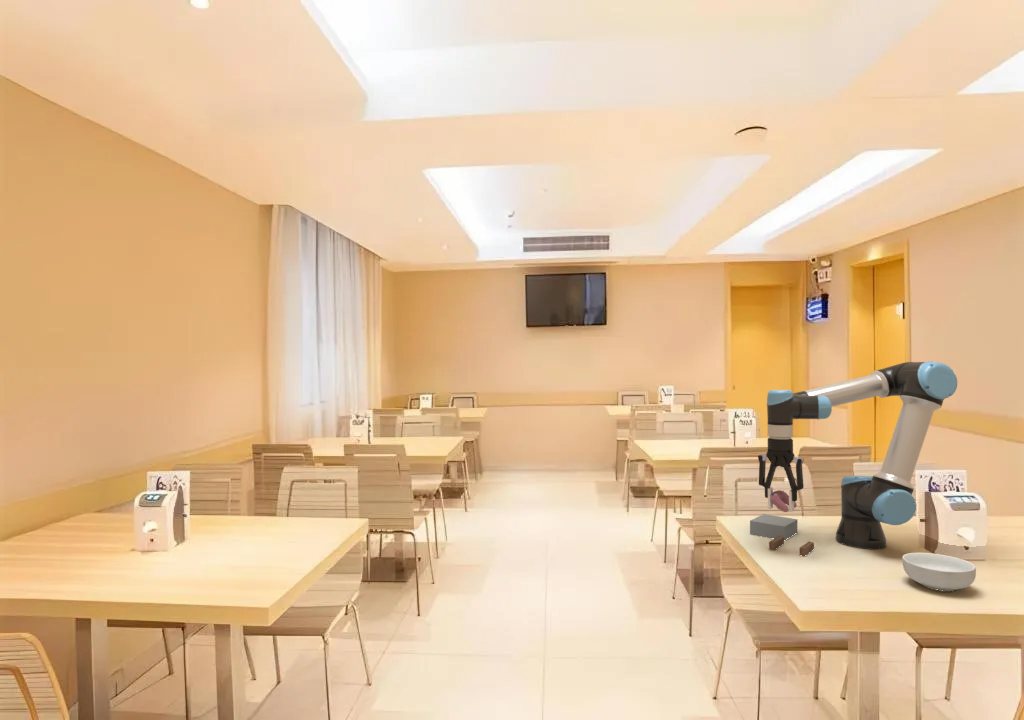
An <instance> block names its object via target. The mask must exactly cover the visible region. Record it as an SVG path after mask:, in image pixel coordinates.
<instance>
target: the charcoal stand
mask: <svg viewBox="0 0 1024 720" xmlns="http://www.w3.org/2000/svg"><path fill="white" fill-rule="evenodd" d="M798 520H799V519H797V518H790V517H784V516H779V515H773V514H767V513H763V514H761V515H759V516H757V517H755V518H753V519H750V521H749V535H750V536H755V535H756V537H760V536H762V538H766V537H767V539H771V538H774V539H775V538H777V537H778V536H783V537H784V540H786V539H787V538H789V537H790V538H792V537H793V536H792V535H794V534H795V533H797V534H798ZM795 535H796V534H795ZM795 535H794V536H795ZM791 536H792V537H791ZM790 538H789V539H790ZM787 540H788V539H787ZM787 540H786V541H787Z"/></svg>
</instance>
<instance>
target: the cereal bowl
mask: <svg viewBox="0 0 1024 720" xmlns="http://www.w3.org/2000/svg"><path fill="white" fill-rule="evenodd" d="M901 560H902V561H901V562H902V567H903V571H904V572H905V574H906V575H907V576H908V577H909V578H910V579H911V580H912V581H915V582H917V583H919V584H920V585H922V586H923V585H924V586H923V587H925V586H926V587H925V588H927V587H929V588H932V589H931V590H933V589H938V590H943V591H942V592H945V591H952V592H955V591H954V590H956V591H957V590H961V589H966V588H968V587H970V586H971V585H972V584H973V583H974V582H975V580H976V576H977V569H976V566H975V564H974V563H972V562H970V561H967V560H965V559H962V558H960V557H955V556H950V555H945V554H939V553H932V552H910V553H909V552H908V553H906V554H903V555H902V558H901ZM929 588H928V589H929Z"/></svg>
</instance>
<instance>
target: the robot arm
mask: <svg viewBox="0 0 1024 720" xmlns="http://www.w3.org/2000/svg"><path fill="white" fill-rule="evenodd" d="M957 389H958V378H957V375H956V373H955V372H954V370H953V369H952V368H951V366H949V365H947V364H946V363H943V362H939V361H936V362H935V361H930V360H929V361H906V362H901V363H898V364H894V365H891V366H887V367H884V368H880V369H877V370H876V369H875V370H873V371H872V372H871V373H870V374H868V375H866V376H865V375H863V376H860V377H856V378H851V379H848V380H844V381H840V382H835V383H831V384H826V385H823V386H818V387H815V388H810V389H805V390H803V391H802V390H801V391H797V392H793V391H792V390H790V389H771V390H769V391H768V392H767V395H766V396H767V398H766V408H767V410H766V411H767V412H766V413H767V424H766V425H767V437H768V438H767V452H766V454H759V455H758V456H757V459H758V463H759V465H758V466H759V467H758V485H759V486H761V487H763V488H764V498H765V499H767V509H768V510H772V509H773V508H774V504H773V503H772V501H771V498H770V496H771V495H772V493H773V492H774V487H771V486H772V481H773V479H774V475H775V472H776V469H777V467H781V468H783V470H784V472H785V475H786V477H787V481H788V483H789V486H790V487H789V488H790V490H788V496H789V506H788V509H789V510H788V513H792V512H795V508H794V501H795V502H797V501H798V492H799V491H802V490H803V489H804V486H805V485H804V475H803V473H804V471H803V464H804V458H803V457H798V456H795V453H794V441H793V437H794V434H793V433H794V432H793V430H794V423H793V422H794V421H793V420H818V421H819V420H825V419H828V418H829V417H830V416H831V414H832V410H833V409H832V407H836V406H840V405H844V404H849V403H853V402H857V401H861V400H866V399H867V400H868V399H870V398H874V397H879V398H887V397H896V396H897V397H899V399H900V400H901V401H902V406H901V409H900V411H899V415H898V417H897V418H898V419H897V421H896V423H895V427H894V430H893V433H892V435H891V439H890V441H889V445H888V448H887V450H886V453H885V456H884V459H883V462H882V466H881V468H880V471H879V472H877V473H874V474H872V476H870V475H845V476H842V478H841V482H840V483H841V484H840V488H841V489H840V490H841V492H840V493H841V498H840V499H841V501H840V502H841V503H840V505H841V518H840V521H839V524H838V526H837V529H836V533H835V541H836V542H838V543H839V544H842V543H843V544H842V545H845V546H848V547H849V546H850V547H854V548H861V549H868V548H869V549H873V550H875V549H876V550H877V549H884V548H886V547H887V538H886V535H885V532H884V529H883V527H882V524H881V523H883V524H884V525H885V524H886V525H890V526H901V525H903V524H906V523H907V522H909V521H910V520H912V518H913V517H914V516H915V513H916V511H917V503H916V501H915V497H914V496H913V492H914V488H915V487H914V486H913V484H912V482H911V481H912V478H913V474H914V472H915V468H916V465H917V462H918V460H919V457H920V454H921V451H922V448H923V445H924V442H925V438H926V435H927V432H928V430H929V426H930V424H931V420H932V418H933V416H934V415H933V414H934V412H935V411H937V410H939V409H942V405H943V403H944V400H945V399H948V398H949V397H952V396H953V395H954V394H955V393H956V391H957ZM767 459H768V460H769V462H770V466H769V470H768V473H767V476H766V465H767V464H766V463H767ZM793 461H794V464H795V473H796V479H795V476H794V472H793V469H792V465H791V464H792V462H793Z"/></svg>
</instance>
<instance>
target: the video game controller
mask: <svg viewBox="0 0 1024 720" xmlns="http://www.w3.org/2000/svg"><path fill="white" fill-rule="evenodd" d="M770 498H771V501H772V503H773V506H775V507H776V508H777V509H778V510H780V511H782V512H783V513H789V493H787V492H786V491H784V490H773V493H772V495H771V496H770ZM797 506H798V505H797V501H794V509H795V508H797Z"/></svg>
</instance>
